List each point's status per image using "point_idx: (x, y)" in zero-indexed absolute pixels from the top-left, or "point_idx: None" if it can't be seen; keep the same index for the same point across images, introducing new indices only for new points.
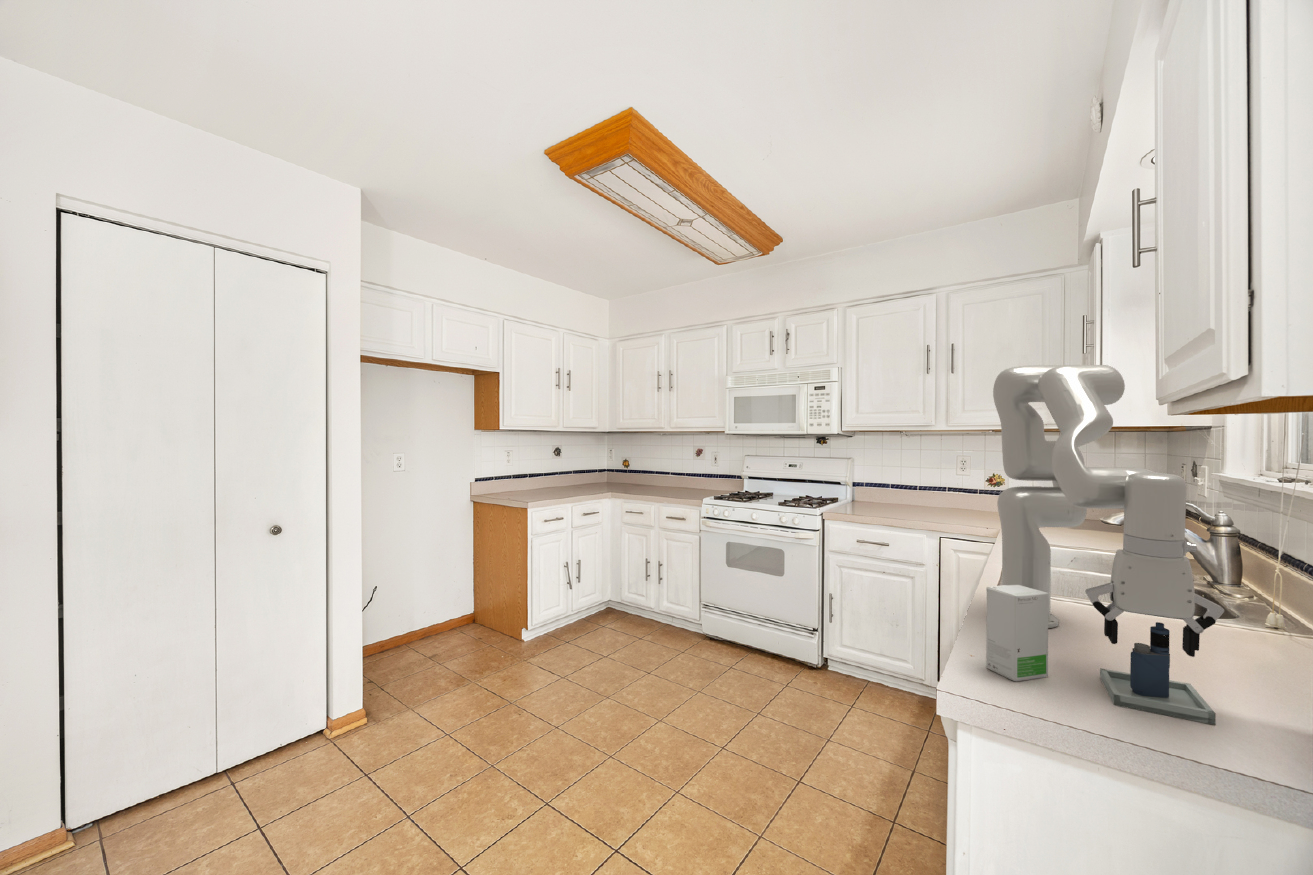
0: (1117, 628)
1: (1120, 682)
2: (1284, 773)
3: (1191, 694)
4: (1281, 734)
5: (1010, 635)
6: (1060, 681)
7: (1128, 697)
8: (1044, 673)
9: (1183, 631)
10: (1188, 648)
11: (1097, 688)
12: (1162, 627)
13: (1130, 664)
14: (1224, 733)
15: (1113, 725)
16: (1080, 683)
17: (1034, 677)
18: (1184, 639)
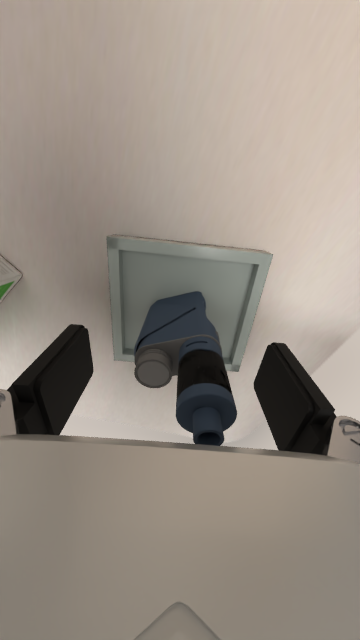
0: (68, 416)
1: (142, 273)
2: (240, 431)
3: (247, 298)
4: (308, 355)
5: None
6: (46, 288)
7: (133, 361)
8: (12, 283)
9: (297, 394)
10: (260, 399)
11: (104, 294)
12: (210, 435)
13: (140, 331)
14: (232, 377)
15: (110, 400)
16: (78, 282)
17: (2, 298)
18: (278, 384)
